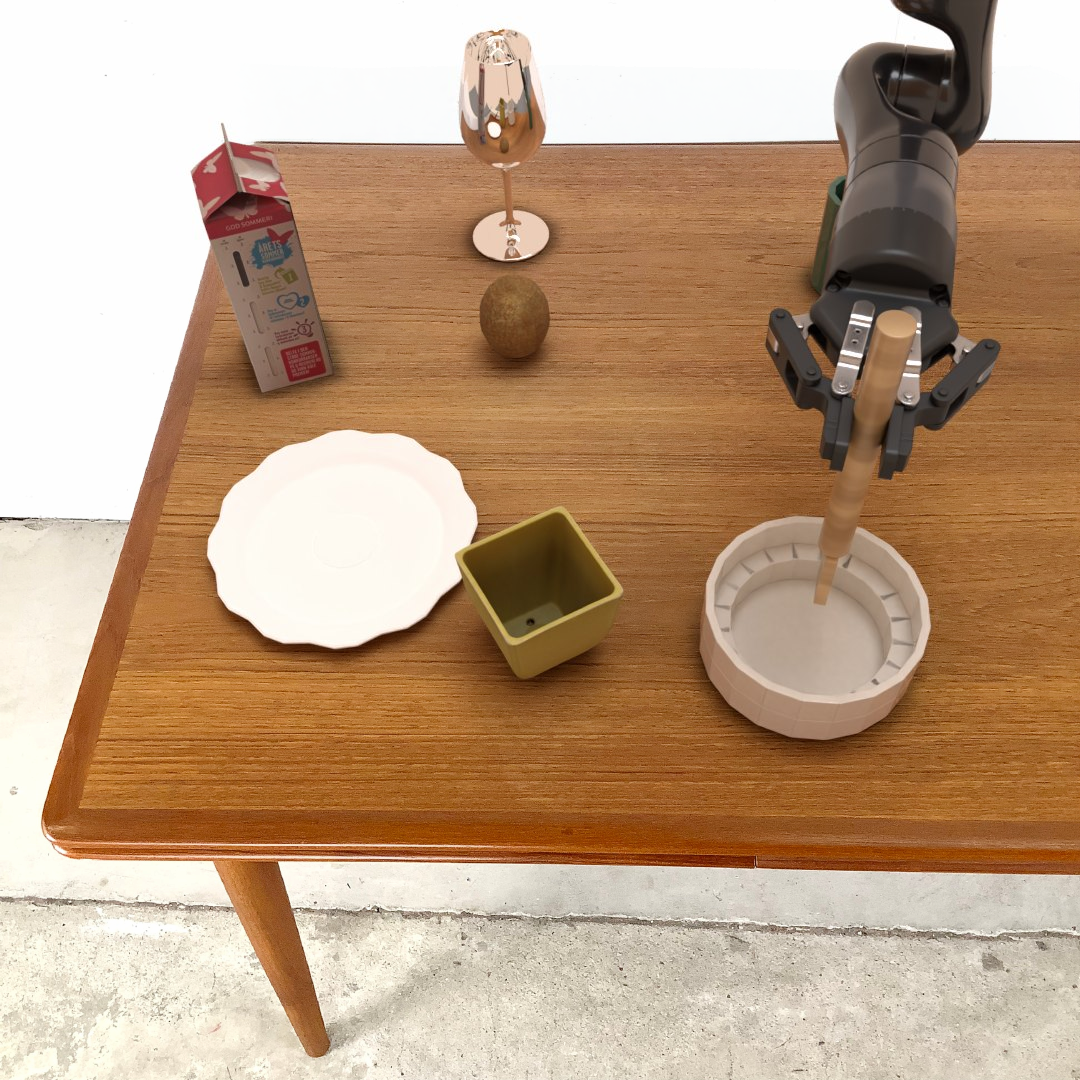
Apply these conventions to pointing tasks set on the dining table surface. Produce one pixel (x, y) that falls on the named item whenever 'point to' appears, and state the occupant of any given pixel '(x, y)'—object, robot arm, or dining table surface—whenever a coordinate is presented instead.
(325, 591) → the plate
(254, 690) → the dining table surface
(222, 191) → the juice carton
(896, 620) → the bowl
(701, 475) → the dining table surface
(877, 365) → the stirring stick
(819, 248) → the holder
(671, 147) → the dining table surface
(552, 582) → the flower pot
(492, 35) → the wineglass
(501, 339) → the fruit
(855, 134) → the robot arm
